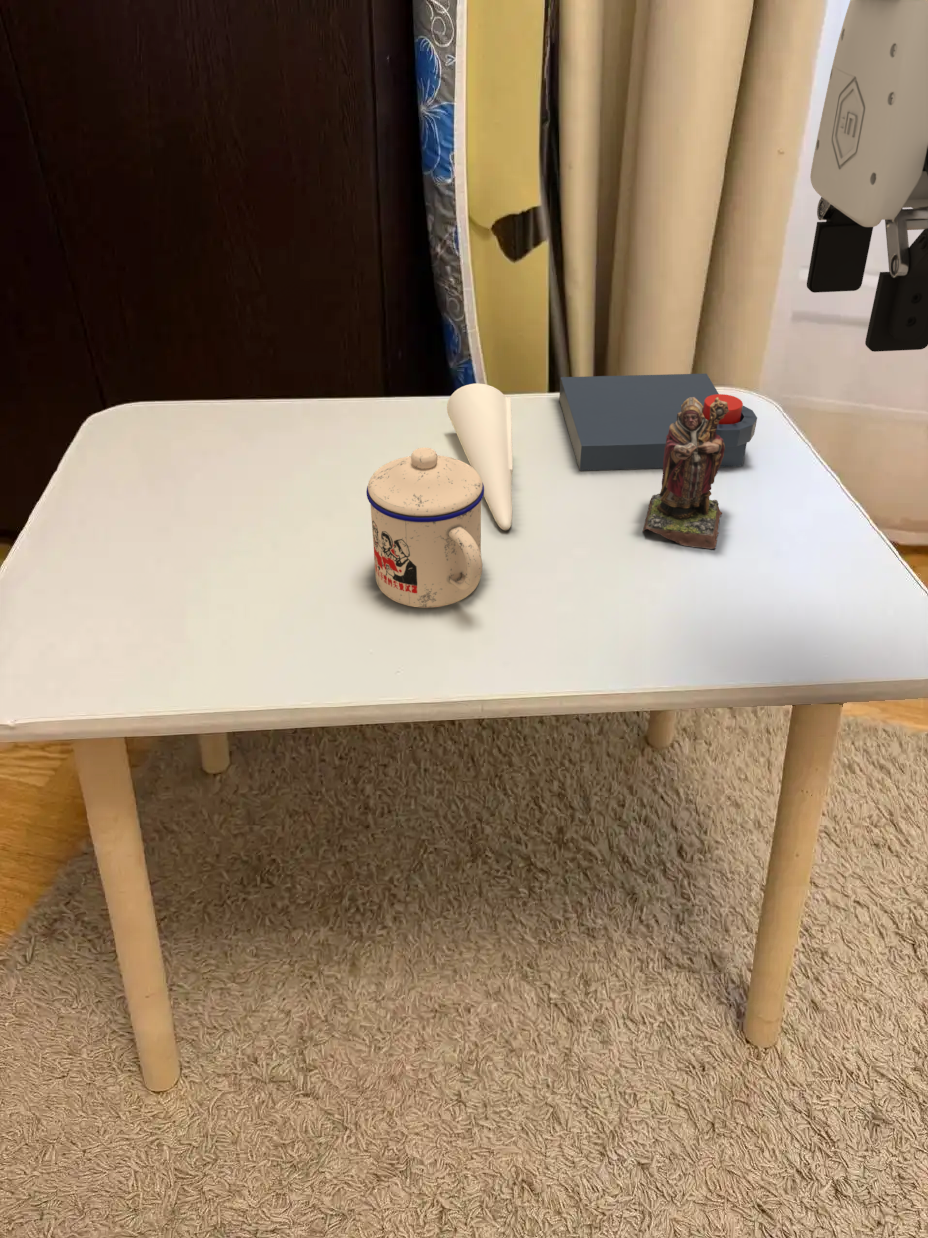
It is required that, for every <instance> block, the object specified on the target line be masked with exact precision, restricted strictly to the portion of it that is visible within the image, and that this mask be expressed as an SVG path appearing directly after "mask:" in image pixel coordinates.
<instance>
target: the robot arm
mask: <svg viewBox="0 0 928 1238" xmlns="http://www.w3.org/2000/svg"><path fill="white" fill-rule="evenodd" d="M832 61H833V62H832V66H831V69H830V75H829V79H828V84H827V88H826V94H825V99H824V102H823V107H822V112H821V117H820V122H819V126H818V127H819V128H818V132H817V137H816V141H815V148H814V152H813V157H812V163H811V169H810V183H811V186H812V188H813V190H814V191H815V192H816V193H817V194H818V195H819V196H820V199H819V201H818V203H817V208H816V215H817V220H818V221H816V227H815V233H814V236H813V237H814V238H813V245H812V250H811V256H810V261H809V268H808V273H807V280H806V288H807V289H808V290H809V291H810V292H811V293H837V292H855V291H858V290H859V289H860V288H862V284H863V281H864V275H865V270H866V267H867V262H868V254H869V251H870V246H871V240H872V236H873V231H874V227H877V226H878V225H880V223H881V222H882V221H883V220H884V225H885V227H884V228H885V238H886V249H887V251H886V252H887V263H888V271H880V272H879V275H878V280H877V283H876V289H875V293H874V299H873V303H872V308H871V312H870V318H869V322H868V327H867V332H866V337H865V343H864V344H865V346H866V348H867V349H868V350H869V351H870V352H895V351H896V352H897V351H918V350H924V349H926V348H927V347H928V0H850V1H849V3H848V6H847V9H846V13H845V15H844V19H843V23H842V26H841V30H840V34H839V37H838V40H837V44H836V49H835V53H834V56H833V60H832ZM918 230H922V231H921V232H920V233H919V235H918V236H917V237H916V238H915V240H914V241H913V242H912V243H911V245H910V243H909V233H908V231H918ZM909 245H910V246H909Z"/></svg>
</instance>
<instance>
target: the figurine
mask: <svg viewBox="0 0 928 1238" xmlns="http://www.w3.org/2000/svg"><path fill="white" fill-rule="evenodd" d="M702 411H703V406H702V404H701V403H700V402H699V401H698V400H697V399H696V398H695V397H693V398H691V397H690V398H688V399H687V400H686V401H684V403H683V404H682V405H681V412H680V413H678V414H677V421H676V422H675V423H672V424H671V425H670V426H669V427H670V428H669V433H668V435H667V436H666V437H667V439H666V445H665V451H664V459H663V468H662V479H661V489H660V492H659V493H657V494H652V496H651V498H650V500H649V502H648V503H649V504H648V507H647V509H648V510H647V514H646V517H645V520H644V524H643V528H642V532H645V531H646V530H649V531H651V532H653V533H654V534H657V535H661V536H662V537H663V538H665V539H668V540H670V541H673V542H675V543H676V544H679V545H680V546H685V547H686V546H687V547H692V548H693V547H694V548H703V549H711V550H714V549H716V546H717V542H718V539H717V538H718V535H720V532H719V531H718V530H719V524H720V518H721V516H723V512H722V511H721V509H720V508H719V502H718V500H717V499H710V497H711V495H712V491H711V490H712V485H713V484H714V483H715V479H716V476H717V474H718V471H719V469H720V468H721V467H720V465H721V462H722V458H723V456H724V450H725V445H724V443H723V439H722V438H721V437H720V436H719V435H717V434H716V429H717V425H718V424H719V421H720V420H721V419H723V418H724V415H725V414H727V412H729V410H728V406H727V402H724V401H720V400H719V398H718V397H717V398H716V399H715V401H714V402H713V403H712V404H711V405H710V418H709V420H707V419H705V417H704V415H703V413H702Z"/></svg>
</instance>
